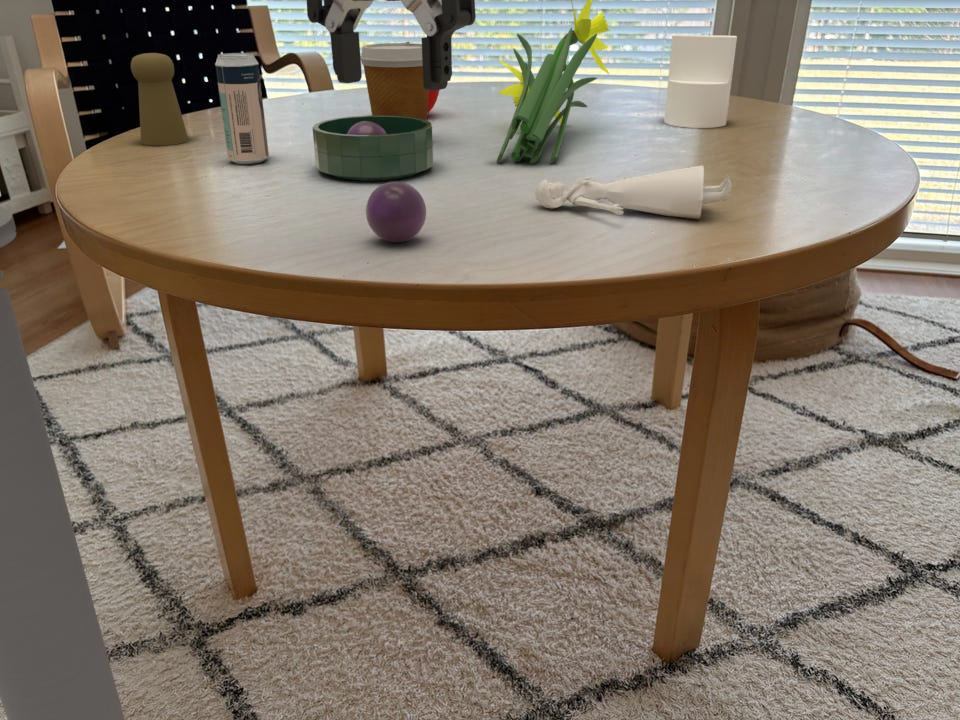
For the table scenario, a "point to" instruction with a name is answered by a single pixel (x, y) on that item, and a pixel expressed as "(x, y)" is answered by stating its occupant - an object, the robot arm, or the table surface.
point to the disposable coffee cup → (395, 79)
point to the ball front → (396, 211)
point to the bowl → (373, 148)
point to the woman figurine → (641, 193)
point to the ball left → (366, 129)
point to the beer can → (242, 107)
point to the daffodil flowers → (551, 87)
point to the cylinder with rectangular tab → (699, 80)
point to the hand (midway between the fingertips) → (391, 85)
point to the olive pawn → (158, 100)
